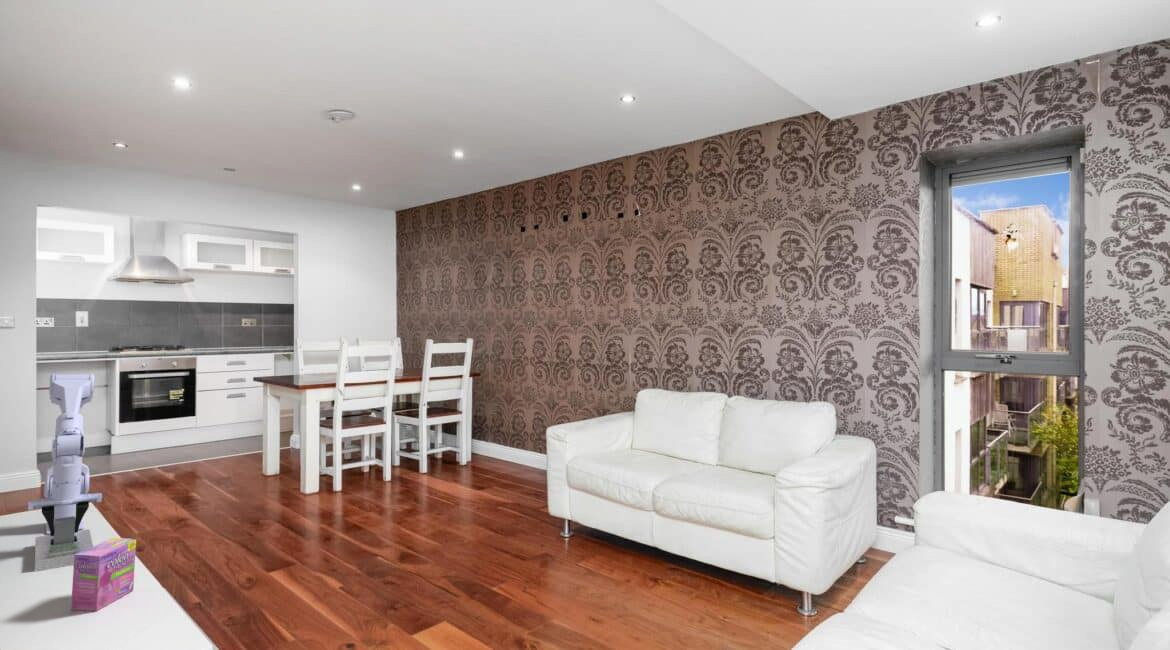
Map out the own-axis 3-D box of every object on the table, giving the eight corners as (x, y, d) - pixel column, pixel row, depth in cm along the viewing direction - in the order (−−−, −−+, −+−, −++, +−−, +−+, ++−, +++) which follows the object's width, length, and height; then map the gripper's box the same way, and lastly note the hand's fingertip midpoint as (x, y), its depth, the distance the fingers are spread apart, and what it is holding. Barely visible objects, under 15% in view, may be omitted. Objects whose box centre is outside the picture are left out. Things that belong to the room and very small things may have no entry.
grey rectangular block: (53, 549, 159) (54, 518, 159) (73, 546, 162) (74, 516, 162) (53, 554, 156) (54, 522, 156) (73, 551, 159) (75, 520, 159)
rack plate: (35, 546, 161) (35, 536, 161) (88, 538, 168) (89, 528, 168) (34, 571, 146) (35, 560, 146) (93, 561, 153) (94, 550, 153)
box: (96, 612, 128) (99, 555, 128) (70, 610, 128) (73, 554, 128) (134, 590, 138) (137, 538, 138) (109, 589, 138) (112, 537, 138)
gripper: (29, 488, 151) (26, 543, 151) (103, 480, 161) (100, 532, 161) (29, 482, 157) (26, 535, 156) (101, 475, 166) (98, 524, 166)
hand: (64, 533), depth 159 cm, fingers open, 4 cm apart
